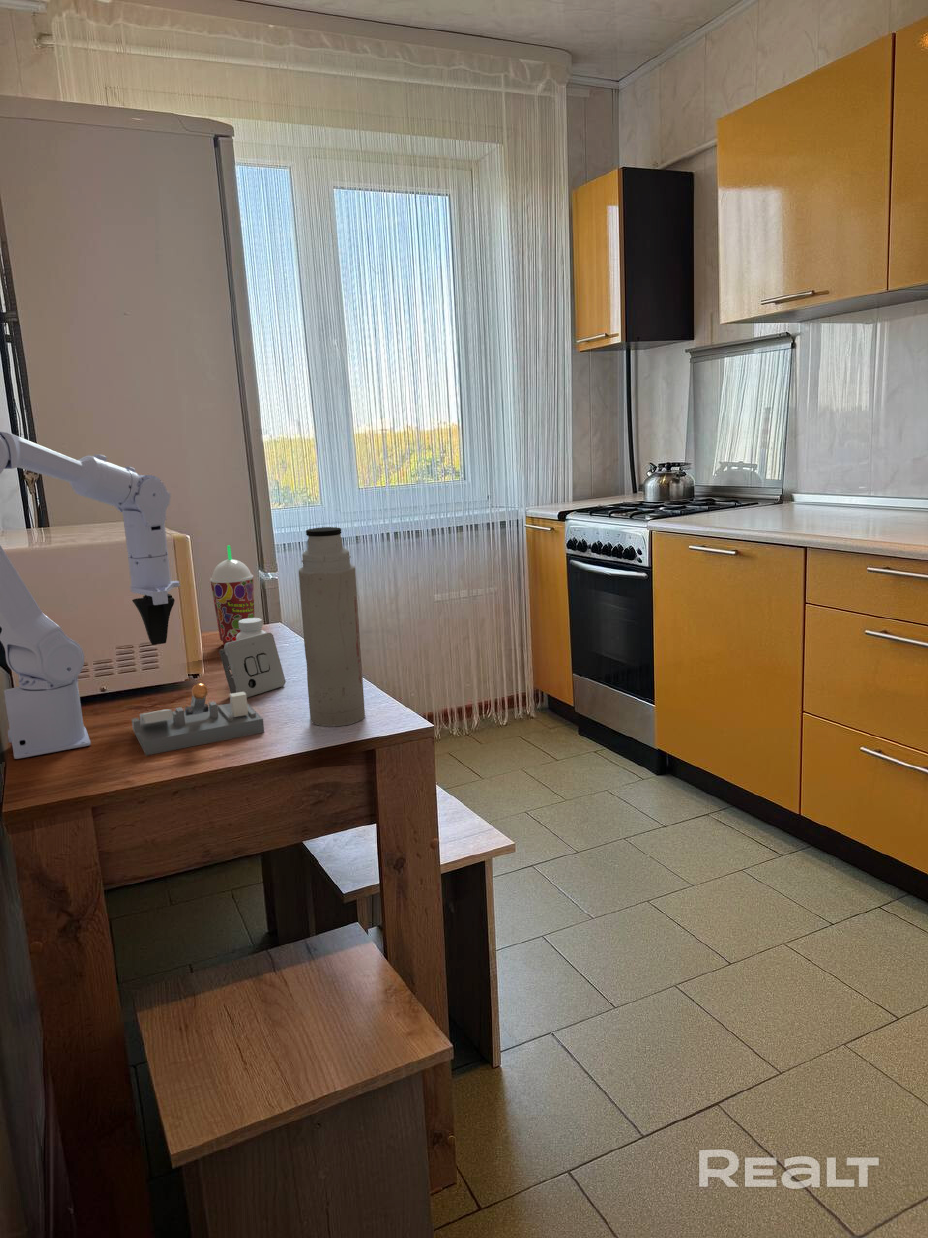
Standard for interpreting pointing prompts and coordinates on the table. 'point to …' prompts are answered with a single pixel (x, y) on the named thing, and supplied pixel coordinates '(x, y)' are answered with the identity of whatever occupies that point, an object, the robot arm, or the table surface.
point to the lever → (198, 700)
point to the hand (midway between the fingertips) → (158, 643)
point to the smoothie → (232, 596)
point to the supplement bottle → (249, 628)
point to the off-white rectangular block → (238, 704)
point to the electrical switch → (252, 665)
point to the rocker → (156, 716)
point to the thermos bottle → (331, 630)
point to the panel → (196, 728)
